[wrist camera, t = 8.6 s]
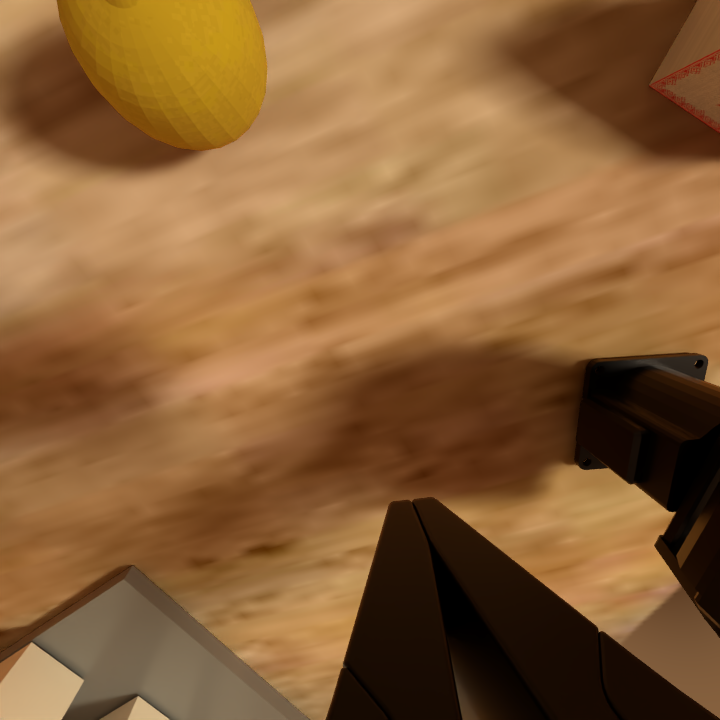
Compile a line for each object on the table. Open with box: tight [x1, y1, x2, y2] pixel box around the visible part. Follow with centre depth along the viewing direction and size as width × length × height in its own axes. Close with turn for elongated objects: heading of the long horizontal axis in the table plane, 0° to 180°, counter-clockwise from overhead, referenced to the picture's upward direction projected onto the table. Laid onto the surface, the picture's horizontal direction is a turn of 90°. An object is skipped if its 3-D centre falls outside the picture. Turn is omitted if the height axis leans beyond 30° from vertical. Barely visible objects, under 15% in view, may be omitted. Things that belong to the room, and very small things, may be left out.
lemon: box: [57, 0, 267, 151], centre depth 12 cm, size 6×6×8 cm
